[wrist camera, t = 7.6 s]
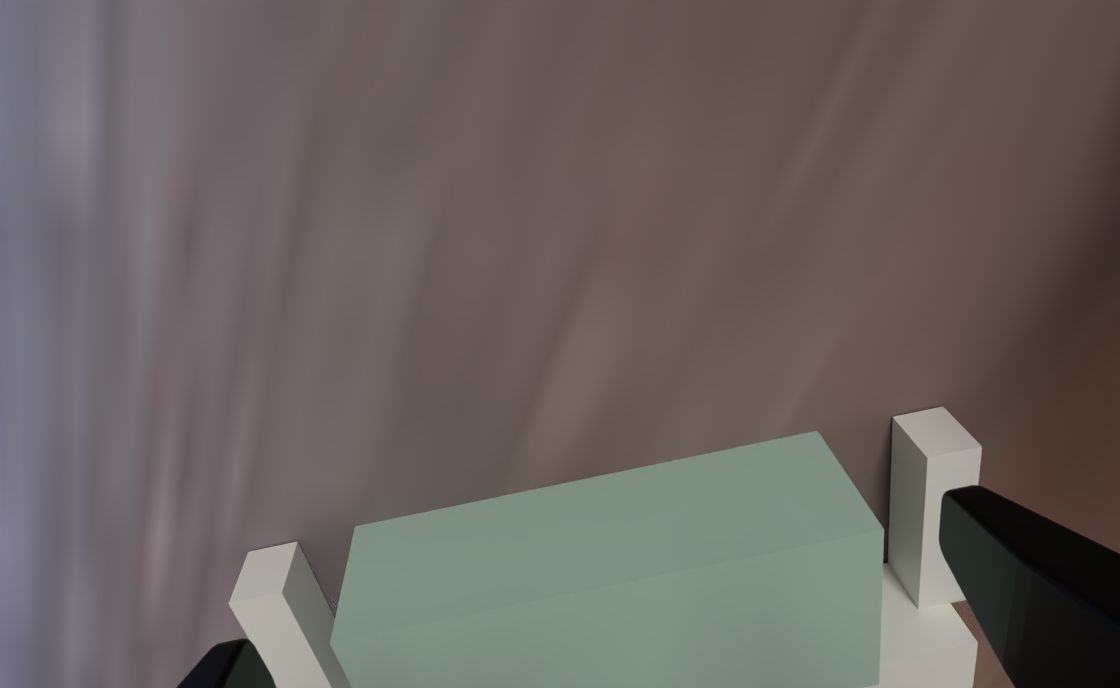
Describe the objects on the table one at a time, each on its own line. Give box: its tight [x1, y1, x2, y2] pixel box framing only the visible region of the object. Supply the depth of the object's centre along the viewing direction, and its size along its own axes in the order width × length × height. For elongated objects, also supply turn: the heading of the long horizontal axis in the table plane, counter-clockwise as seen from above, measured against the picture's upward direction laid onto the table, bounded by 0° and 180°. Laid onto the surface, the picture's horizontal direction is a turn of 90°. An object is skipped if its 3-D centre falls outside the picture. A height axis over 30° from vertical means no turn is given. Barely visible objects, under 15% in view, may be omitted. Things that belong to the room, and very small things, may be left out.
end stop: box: [229, 406, 982, 688], centre depth 23 cm, size 21×9×4 cm, turn 101°
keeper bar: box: [330, 431, 884, 688], centre depth 22 cm, size 14×6×4 cm, turn 101°
